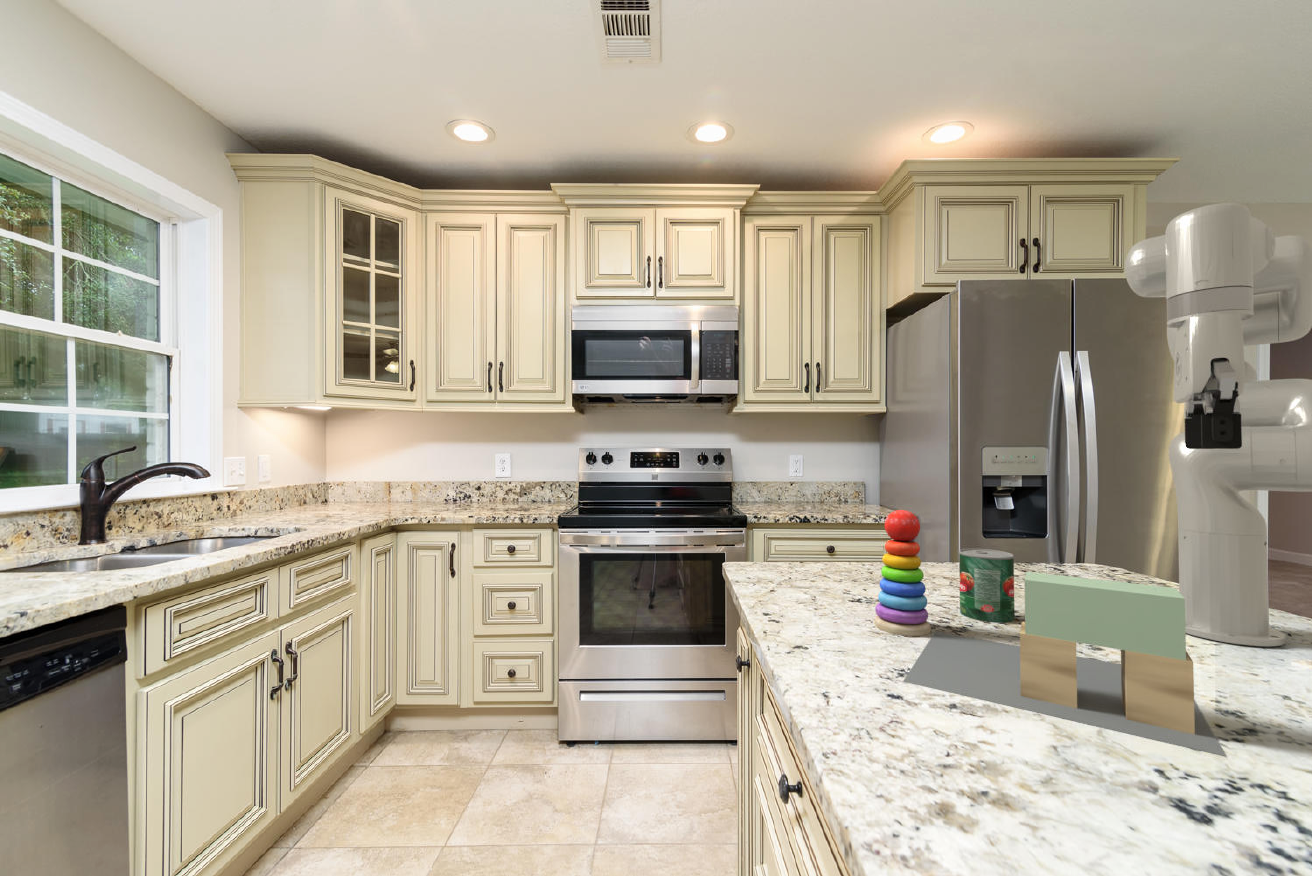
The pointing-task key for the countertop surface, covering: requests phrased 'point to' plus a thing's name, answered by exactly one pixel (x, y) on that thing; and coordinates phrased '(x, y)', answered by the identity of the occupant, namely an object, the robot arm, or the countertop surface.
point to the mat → (998, 680)
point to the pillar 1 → (1048, 669)
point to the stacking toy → (902, 580)
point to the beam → (1106, 614)
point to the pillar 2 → (1158, 690)
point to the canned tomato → (987, 585)
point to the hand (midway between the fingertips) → (1211, 448)
